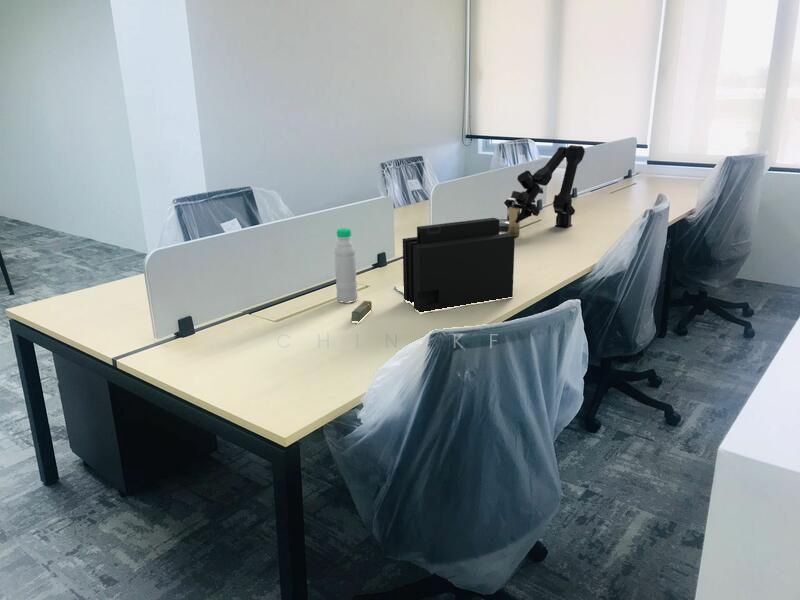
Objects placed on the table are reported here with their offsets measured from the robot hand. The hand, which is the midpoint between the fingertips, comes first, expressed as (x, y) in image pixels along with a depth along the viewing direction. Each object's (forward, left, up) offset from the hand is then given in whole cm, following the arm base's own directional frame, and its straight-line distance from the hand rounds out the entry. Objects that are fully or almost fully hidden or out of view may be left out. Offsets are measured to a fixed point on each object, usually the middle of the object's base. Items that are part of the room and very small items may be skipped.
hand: (512, 221), depth 311 cm
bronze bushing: (0, -1, -7) cm, 7 cm away
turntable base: (+13, -13, -7) cm, 20 cm away
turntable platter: (+13, -13, -5) cm, 19 cm away
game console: (-28, +85, -7) cm, 90 cm away
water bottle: (-6, +113, -7) cm, 113 cm away
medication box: (-22, +121, -8) cm, 123 cm away
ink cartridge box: (+20, -30, -7) cm, 37 cm away
